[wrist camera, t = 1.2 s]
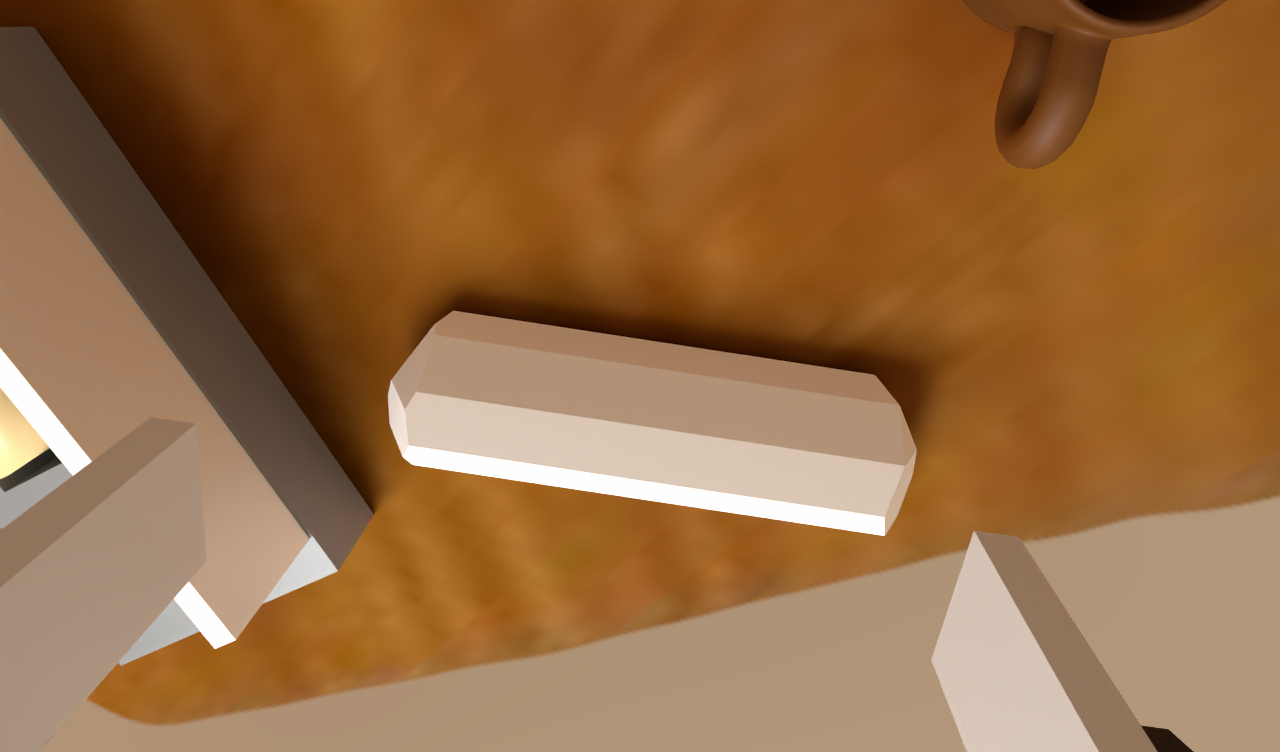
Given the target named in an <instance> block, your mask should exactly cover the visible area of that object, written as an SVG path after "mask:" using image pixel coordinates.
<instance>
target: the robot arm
mask: <svg viewBox="0 0 1280 752" xmlns="http://www.w3.org/2000/svg"><path fill="white" fill-rule="evenodd" d="M206 561H207V559H206V546H205V533H204V519H203V506H202V493H201V480H200V467H199V453H198V440H197V427H196V423H188V422H181V421H174V420H167V419H159V418H152V417H150V418H149V419H148V420H146V421H145V422H144V423H142V424H141V425H140V426H138V427H137V428H136V429H134V430H133V431H132V432H130V433H129V434H128V435H126V436H125V437H124V438H122V439H121V440H120V441H118V442H117V443H116V444H114V445H113V446H112V447H110V448H109V449H108V450H106V451H105V452H104V453H103V454H101V455H100V456H99V457H97V458H96V459H95V460H93V461H92V462H91V463H89V464H88V465H87V466H85V467H84V468H83V469H81V470H80V471H79V472H77V473H76V474H75V475H73V476H72V477H71V478H69V479H68V480H67V481H65V482H64V483H63V484H61V485H60V486H59V487H57V488H56V489H55V490H53V491H52V492H51V493H49V494H48V495H47V496H45V497H44V498H43V499H41V500H40V501H39V502H37V503H36V504H35V505H34V506H32V507H31V508H30V509H28V510H27V511H26V512H24V513H23V514H22V515H20V516H19V517H18V518H16V519H15V520H14V521H12V522H11V523H10V524H8V525H7V526H6V527H4V528H3V529H2V530H0V752H40V751H41V750H42V749H43V748H44V747H45V746H46V744H47V743H48V742H49V741H50V740H51V739H52V738H53V736H54V735H55V734H56V733H57V732H58V731H59V729H60V728H61V727H62V726H63V725H64V724H65V723H66V722H67V720H68V719H69V718H70V717H71V716H72V715H73V713H74V712H75V711H76V710H77V709H78V708H79V707H80V705H81V704H82V703H83V702H84V701H85V700H86V699H87V697H88V696H89V695H90V694H91V693H92V692H93V691H94V689H95V688H96V687H97V686H98V685H99V684H100V683H101V681H102V680H103V679H104V678H105V677H106V676H107V675H108V673H109V672H110V671H111V670H112V669H113V668H114V667H115V665H116V664H117V663H118V662H119V661H120V660H121V659H122V657H123V656H124V655H125V654H126V653H127V652H128V651H129V649H130V648H131V647H132V646H133V645H134V644H135V643H136V641H137V640H138V639H139V638H140V637H141V636H142V635H143V633H144V632H145V631H146V630H147V629H148V628H149V627H150V625H151V624H152V623H153V622H154V621H155V620H156V619H157V617H158V616H159V615H160V614H161V613H162V612H163V610H164V609H165V608H166V607H167V606H168V605H169V604H170V602H171V601H172V600H173V599H174V598H175V597H176V596H177V594H178V593H179V592H180V591H181V590H182V589H183V588H184V586H185V585H186V584H187V583H188V582H189V581H190V580H191V578H192V577H193V576H194V575H195V574H196V573H197V572H198V570H199V569H200V568H201V567H202V566H203V565H204V564H205V562H206ZM932 663H933V665H934V668H935V671H936V673H937V676H938V678H939V681H940V683H941V686H942V689H943V691H944V694H945V697H946V699H947V702H948V704H949V707H950V710H951V712H952V715H953V717H954V720H955V722H956V725H957V728H958V730H959V733H960V735H961V738H962V741H963V743H964V746H965V748H966V751H967V752H1193V751H1192V750H1191V749H1190V748H1189V747H1187V746H1186V745H1185V744H1184V743H1183V742H1182V741H1181V740H1180V739H1178V738H1177V737H1176V736H1175V735H1174V734H1173V733H1172V732H1171V731H1170V730H1168V729H1162V728H1154V727H1147V726H1141V725H1140V724H1139V722H1138V721H1137V719H1136V718H1135V716H1134V715H1133V713H1132V711H1131V710H1130V708H1129V707H1128V705H1127V704H1126V702H1125V700H1124V699H1123V697H1122V696H1121V694H1120V693H1119V691H1118V690H1117V688H1116V686H1115V685H1114V683H1113V682H1112V680H1111V679H1110V677H1109V676H1108V674H1107V673H1106V671H1105V669H1104V668H1103V666H1102V665H1101V664H1100V662H1099V660H1098V659H1097V657H1096V656H1095V654H1094V652H1093V651H1092V649H1091V648H1090V646H1089V645H1088V643H1087V642H1086V640H1085V639H1084V637H1083V635H1082V634H1081V632H1080V631H1079V629H1078V628H1077V626H1076V624H1075V623H1074V622H1073V620H1072V618H1071V617H1070V615H1069V614H1068V612H1067V610H1066V609H1065V607H1064V606H1063V604H1062V603H1061V601H1060V600H1059V598H1058V597H1057V595H1056V593H1055V592H1054V590H1053V589H1052V588H1051V586H1050V584H1049V583H1048V581H1047V579H1046V578H1045V576H1044V575H1043V573H1042V572H1041V570H1040V569H1039V567H1038V566H1037V564H1036V562H1035V561H1034V559H1033V558H1032V556H1031V555H1030V553H1029V552H1028V550H1027V549H1026V547H1025V546H1024V544H1023V542H1022V541H1021V539H1020V538H1019V537H1016V536H1009V535H1002V534H995V533H987V532H980V531H974V532H973V535H972V538H971V541H970V544H969V547H968V550H967V554H966V557H965V560H964V563H963V566H962V569H961V572H960V575H959V578H958V581H957V584H956V587H955V590H954V593H953V596H952V599H951V602H950V605H949V608H948V611H947V614H946V617H945V621H944V623H943V626H942V630H941V633H940V635H939V639H938V642H937V645H936V648H935V651H934V654H933V657H932Z"/></svg>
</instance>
